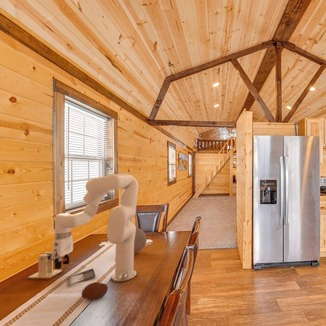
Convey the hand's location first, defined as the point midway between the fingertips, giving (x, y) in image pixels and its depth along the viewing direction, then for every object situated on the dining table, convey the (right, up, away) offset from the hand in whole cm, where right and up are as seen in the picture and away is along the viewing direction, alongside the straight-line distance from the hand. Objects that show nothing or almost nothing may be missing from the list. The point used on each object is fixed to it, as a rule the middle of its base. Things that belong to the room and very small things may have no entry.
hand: (62, 265), depth 134 cm
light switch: (+14, -6, -4) cm, 16 cm away
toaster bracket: (-9, -6, 0) cm, 11 cm away
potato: (+34, -6, -22) cm, 41 cm away
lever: (-5, +3, 0) cm, 6 cm away
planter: (+23, -7, +35) cm, 42 cm away
